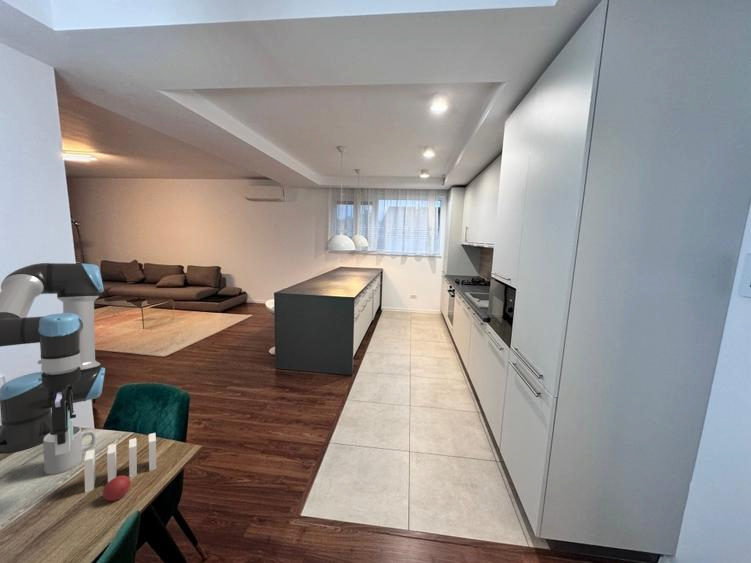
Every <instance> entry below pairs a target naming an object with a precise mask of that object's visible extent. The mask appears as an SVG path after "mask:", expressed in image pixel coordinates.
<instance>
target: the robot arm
mask: <svg viewBox="0 0 751 563" xmlns="http://www.w3.org/2000/svg"><path fill="white" fill-rule="evenodd" d="M0 284H1V285H0V290H1V291H0V347H8V346H17V345H19V346H20V345H27V344H37V343H38V344H39V346H40V348H39V349H40V359H39V360H38V361H37V364H38V365H40V367H41V368H40V370H41V371H37V372H32V373H27V374H25V375H21V376H17V377H15V378H12V379H10V380H8V381H7V382H5V383H4V384H2V385H1V387H0V421H1V425H0V453H13V452H19V451H23V450H26V449H30V448H33V447H36V446H39V445H41V444H43V439H44V437H45V436H46V435H48V434H49V433H50V435H54V436H55V455H59V454H63V453H67V452H70V440H69V429H68V411H70V437H71V441H73V425H74V419H75V418H77V414H76V413H74V412H75V411H74V404H76V403H81V402H86V401H90V400H94V399H97V398H99V397H100V396H101V395H102V392H103V386H104V381H105V374H106V368H105V367H101V362H98V361H97V360H96V343H95V342H96V341H95V340H96V339H95V338H96V337H95V301H96V300H97V299H99V297H100V293H103V292H105V291H104V284H103V279H102V274H101V270H100V267H99V266H98V265H96V264H91V263H83V262H82V263H70V262H69V263H68V262H67V263H66V262H65V263H64V262H63V263H62V262H61V263H57V262H56V263H53V262H51V263H50V262H42V263H34V264H30V265H27V266H24V267H21V268H18V269H16V270H14V271H12V272H10V273H9V274H8V275H6V277H4V279H3V280H2V282H1V283H0ZM45 294H46V295H49V294H50V295H51V294H54V295H56V297H57V300H59V301H60V302H62V309H63V310H62V313H52V314H47V315H44V316H33V317H32V316H29V317H28V314H29V313H30V310H31V307H32V306H33V303H34V301H35V299H36V298H37V297H39V296H40V295H45Z"/></svg>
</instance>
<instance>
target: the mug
mask: <svg viewBox="0 0 751 563" xmlns="http://www.w3.org/2000/svg"><path fill="white" fill-rule="evenodd" d="M88 435H89V436H91V441H90V442H89V444H86V445H83V444H82V441H83V440H82V438H84V437H86V436H88ZM96 440H97V436H96V433H95V431H94V430H92V429H86V430H82V429H81V427H80V426H75V425H74V426H73V441H71V443H70V452H67V453H63V454H59V455H55V436H54V435H50V433H49V434H48V435H46V436H45V437H44V439H43V443H42V444H43V446H42V448H43V471H44V474H46V475H50V476H51V475H52V476H53V475H59V474H62V473H64V472H65V473H66V472H68V471H70V470H72V469H74V468H75V467H77V466H78V465H79V464H80V463H81V462H82V460H83V452H85V451H89V449H90V450H91V449H92V448H93V447H94V445H95V443H96Z"/></svg>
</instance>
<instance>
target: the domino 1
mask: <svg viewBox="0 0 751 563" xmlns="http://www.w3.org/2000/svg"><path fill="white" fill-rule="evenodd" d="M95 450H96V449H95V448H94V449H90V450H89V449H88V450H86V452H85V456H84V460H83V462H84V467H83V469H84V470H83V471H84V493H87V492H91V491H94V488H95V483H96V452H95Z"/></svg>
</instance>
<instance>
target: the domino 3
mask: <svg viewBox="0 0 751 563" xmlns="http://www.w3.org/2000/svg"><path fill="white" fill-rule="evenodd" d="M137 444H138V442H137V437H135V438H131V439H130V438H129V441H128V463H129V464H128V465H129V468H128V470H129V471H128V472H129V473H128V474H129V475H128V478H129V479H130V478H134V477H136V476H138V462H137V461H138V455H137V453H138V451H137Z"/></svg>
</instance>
